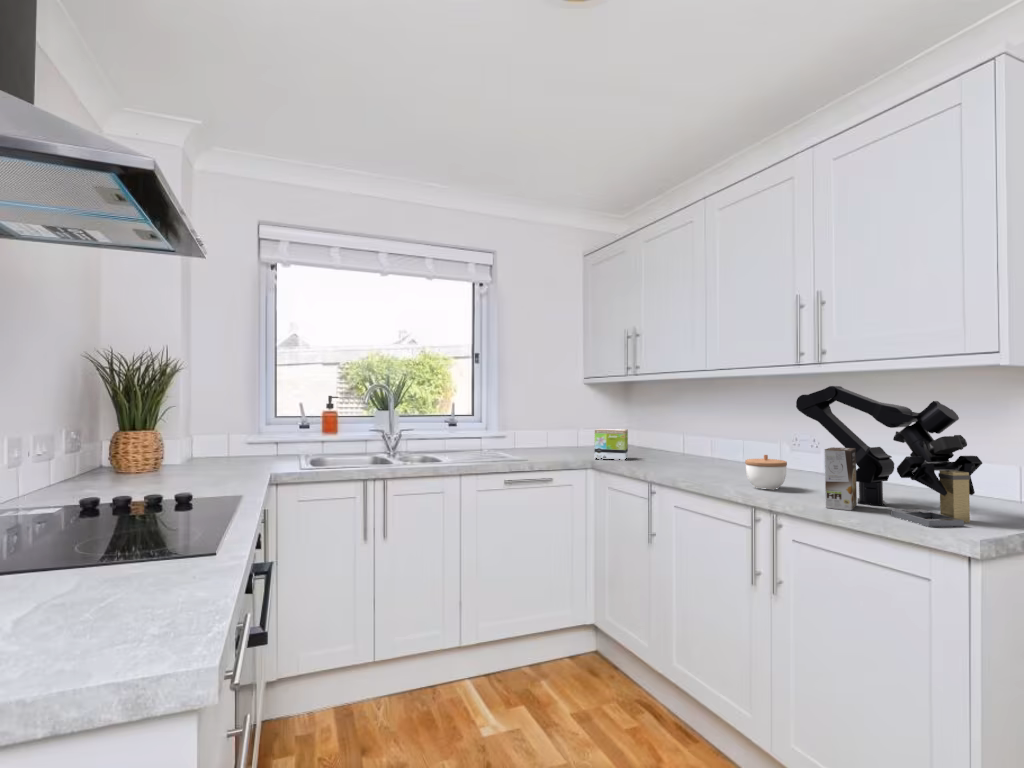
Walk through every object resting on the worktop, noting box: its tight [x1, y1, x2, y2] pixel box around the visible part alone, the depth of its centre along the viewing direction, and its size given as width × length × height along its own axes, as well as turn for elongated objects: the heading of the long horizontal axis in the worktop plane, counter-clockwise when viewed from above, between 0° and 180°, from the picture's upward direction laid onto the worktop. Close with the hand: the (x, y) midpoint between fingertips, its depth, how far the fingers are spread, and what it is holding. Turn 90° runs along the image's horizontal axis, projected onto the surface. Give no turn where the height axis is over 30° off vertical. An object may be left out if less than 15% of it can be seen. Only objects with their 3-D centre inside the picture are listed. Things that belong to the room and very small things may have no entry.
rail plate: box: [890, 509, 965, 528], centre depth 136 cm, size 12×8×2 cm
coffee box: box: [824, 446, 858, 511], centre depth 154 cm, size 9×6×16 cm
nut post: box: [937, 470, 971, 523], centre depth 136 cm, size 4×4×12 cm
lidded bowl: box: [744, 454, 788, 489], centre depth 185 cm, size 13×13×11 cm
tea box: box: [593, 427, 629, 460], centre depth 271 cm, size 15×10×15 cm, turn 72°
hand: (959, 494), depth 135 cm, fingers open, 7 cm apart
